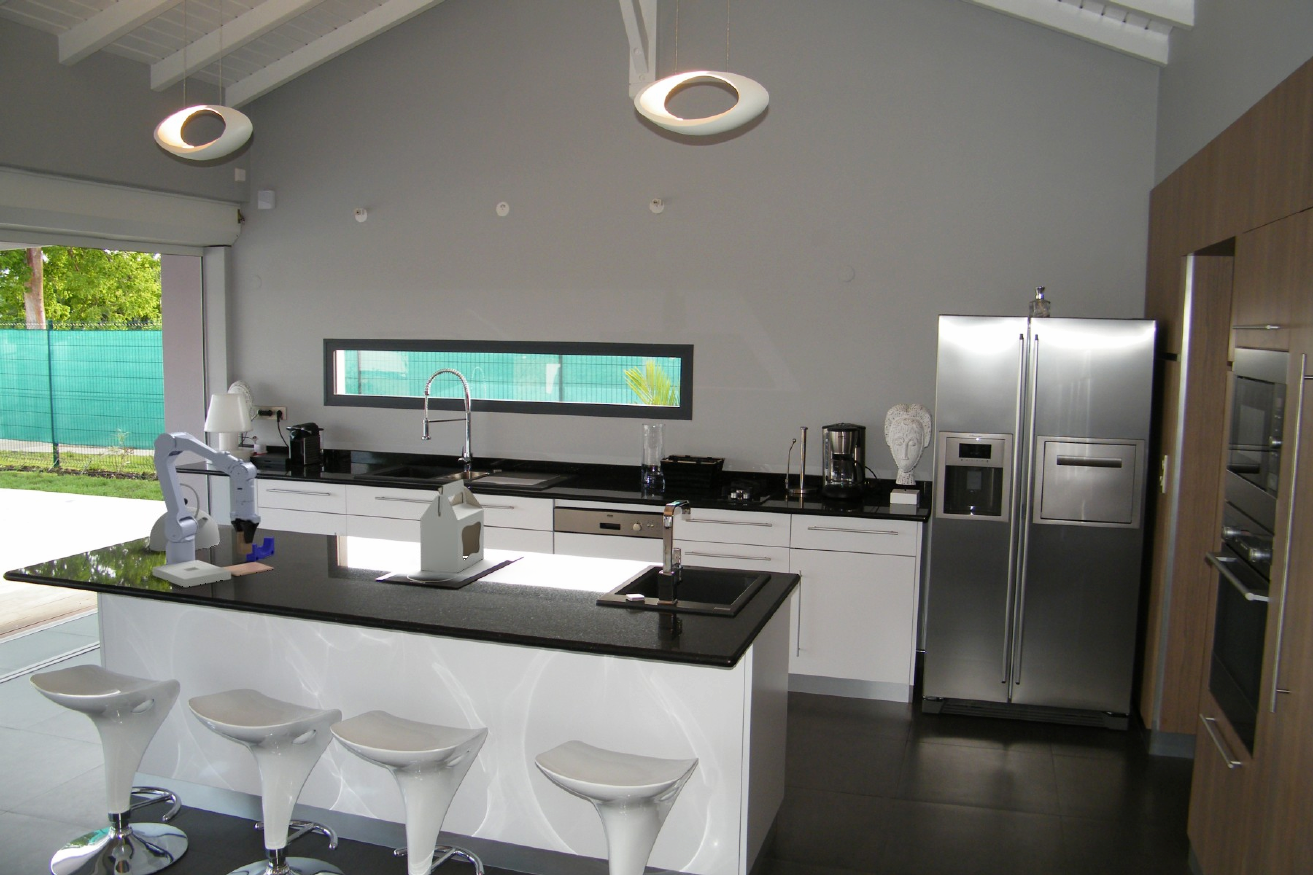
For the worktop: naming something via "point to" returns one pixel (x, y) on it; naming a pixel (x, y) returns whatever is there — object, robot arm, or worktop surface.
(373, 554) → the worktop surface
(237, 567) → the terracotta tile
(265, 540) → the cable clip
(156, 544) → the kettle
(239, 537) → the walnut peg
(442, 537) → the gable box
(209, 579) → the board
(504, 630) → the worktop surface
